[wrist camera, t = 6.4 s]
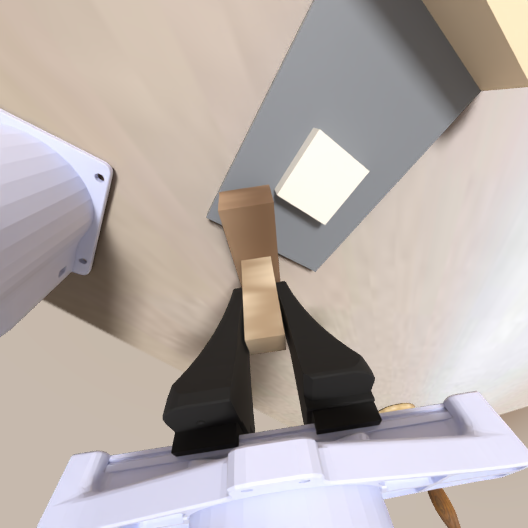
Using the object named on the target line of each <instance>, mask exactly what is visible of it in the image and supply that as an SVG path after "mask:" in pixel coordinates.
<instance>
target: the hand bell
mask: <svg viewBox="0 0 528 528" xmlns="http://www.w3.org/2000/svg"><path fill="white" fill-rule="evenodd" d="M409 408H415V406H414V405H413V404H409V403H402V404H396V405H392V406H389V407H386V408H384V409H382V410H380V411H378V412H379V413H384V412H390V411H396V410H403V409H409ZM428 494H429V496H430V499H431V501H432V503H433V505H434V507H435V509H436V511H437V513H438V514H439V516H440V517H441V519H442V520H443V522H444V523H445V524H446V525H447V527H448V528H460V524H459V521H458V518H457V515H456V512H455V510H454V508H453V506H452V504H451V502H450V500H449V498H448V497H447V495H446V494H445V492H444V490H443V489H442V488H439V489H434V490H429V491H428Z"/></svg>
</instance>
